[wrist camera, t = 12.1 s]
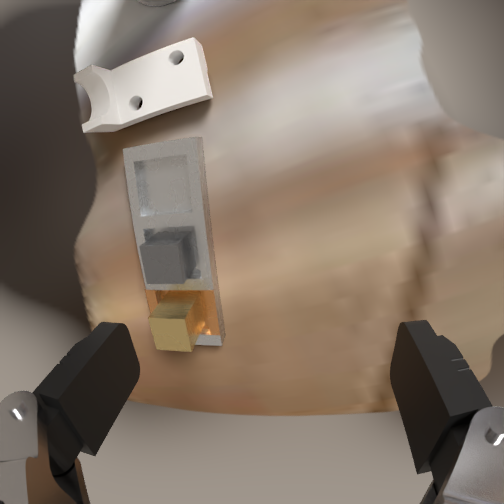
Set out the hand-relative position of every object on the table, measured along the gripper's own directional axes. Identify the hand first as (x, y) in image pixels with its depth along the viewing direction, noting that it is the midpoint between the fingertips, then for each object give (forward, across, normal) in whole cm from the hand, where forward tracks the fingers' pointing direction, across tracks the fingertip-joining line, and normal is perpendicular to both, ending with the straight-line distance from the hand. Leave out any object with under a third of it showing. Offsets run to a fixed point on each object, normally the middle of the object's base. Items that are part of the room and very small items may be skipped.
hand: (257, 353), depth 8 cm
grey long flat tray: (+28, +13, +6) cm, 32 cm away
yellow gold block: (+27, +13, +14) cm, 33 cm away
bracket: (+29, +14, -14) cm, 35 cm away
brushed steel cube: (+27, +13, +6) cm, 31 cm away
